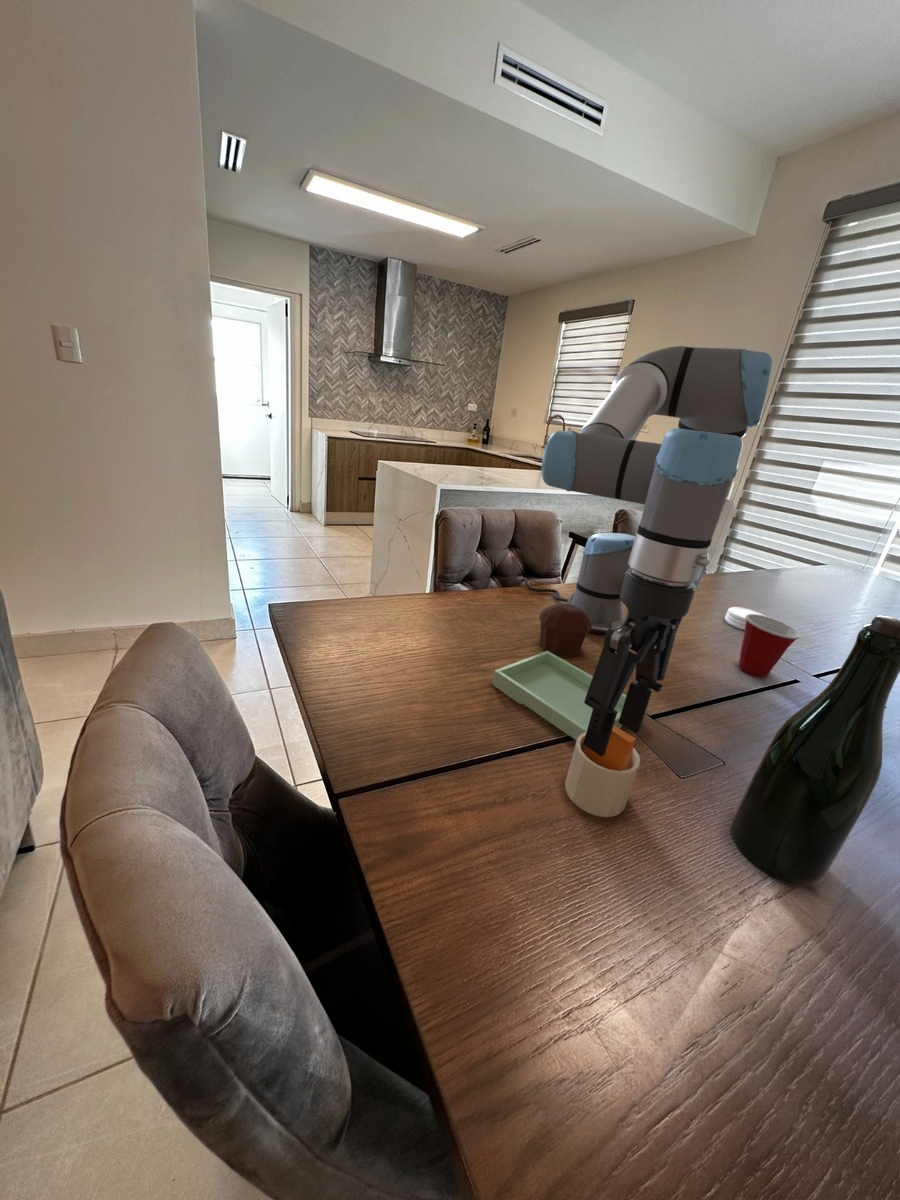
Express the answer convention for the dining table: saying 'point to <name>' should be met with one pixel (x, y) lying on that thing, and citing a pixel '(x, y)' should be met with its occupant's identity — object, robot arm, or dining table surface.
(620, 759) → the plate
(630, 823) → the dining table surface
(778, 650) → the plastic cup
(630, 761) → the sugar cup
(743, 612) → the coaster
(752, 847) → the beer bottle
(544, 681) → the tray
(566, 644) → the muffin
